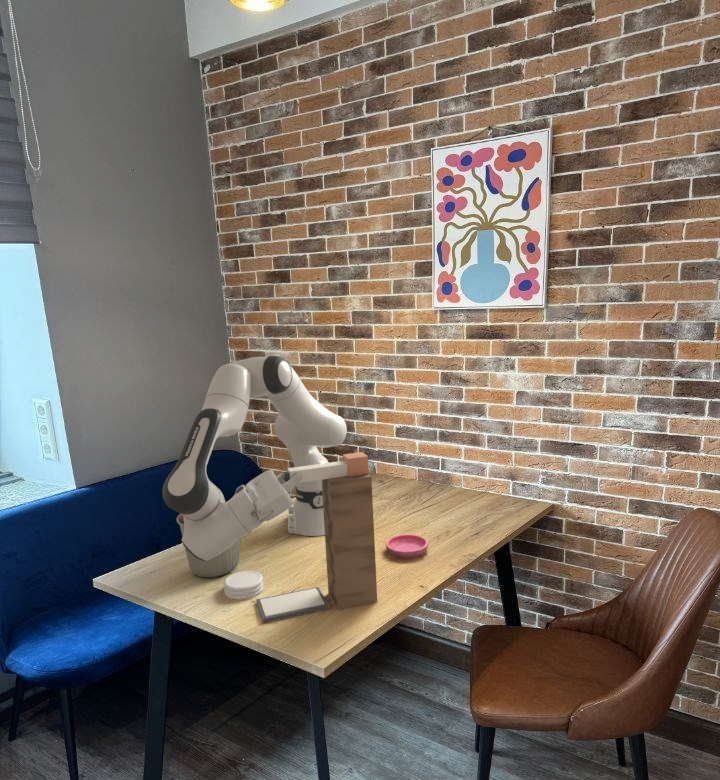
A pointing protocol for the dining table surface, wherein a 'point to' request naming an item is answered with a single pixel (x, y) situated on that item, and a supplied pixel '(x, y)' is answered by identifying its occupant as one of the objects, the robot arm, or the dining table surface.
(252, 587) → the coaster
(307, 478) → the marker
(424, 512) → the dining table surface
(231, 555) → the canister
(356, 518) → the walnut stand
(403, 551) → the saucer
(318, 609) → the writing board
